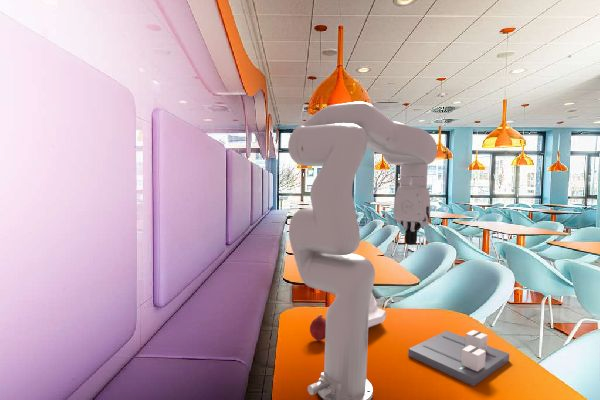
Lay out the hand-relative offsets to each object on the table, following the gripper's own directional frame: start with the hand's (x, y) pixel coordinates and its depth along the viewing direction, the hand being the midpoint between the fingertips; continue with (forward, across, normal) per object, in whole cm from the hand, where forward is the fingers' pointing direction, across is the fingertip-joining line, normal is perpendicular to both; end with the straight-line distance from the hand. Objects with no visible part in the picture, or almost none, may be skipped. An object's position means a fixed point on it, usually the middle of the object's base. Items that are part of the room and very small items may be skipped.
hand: (410, 243), depth 109 cm
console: (+29, +16, +1) cm, 33 cm away
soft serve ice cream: (+29, -13, -4) cm, 32 cm away
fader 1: (+27, +18, +6) cm, 33 cm away
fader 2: (+27, +22, -4) cm, 35 cm away
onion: (+29, -14, -23) cm, 40 cm away
